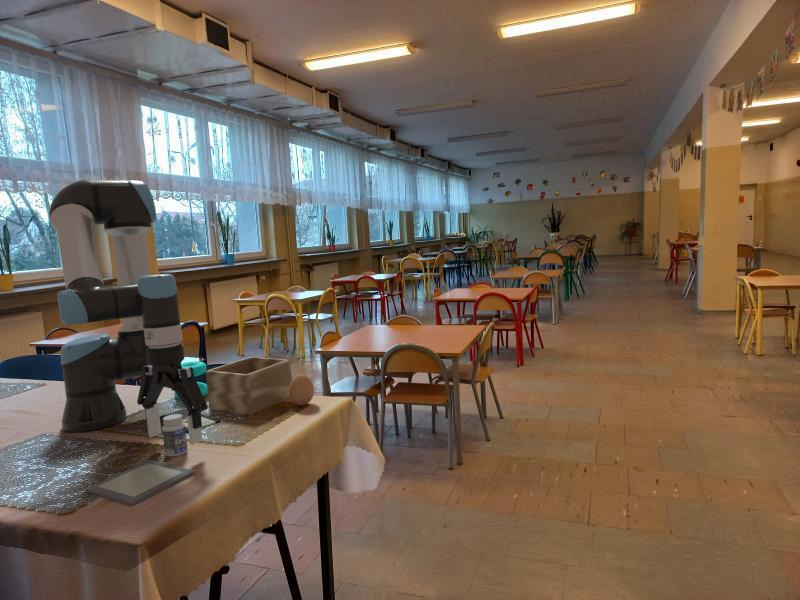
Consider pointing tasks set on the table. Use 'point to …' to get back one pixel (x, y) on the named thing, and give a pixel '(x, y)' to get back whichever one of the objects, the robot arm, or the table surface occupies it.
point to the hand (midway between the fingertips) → (175, 438)
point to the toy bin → (248, 384)
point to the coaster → (140, 482)
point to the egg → (301, 390)
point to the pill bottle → (174, 435)
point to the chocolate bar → (184, 412)
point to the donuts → (196, 374)
